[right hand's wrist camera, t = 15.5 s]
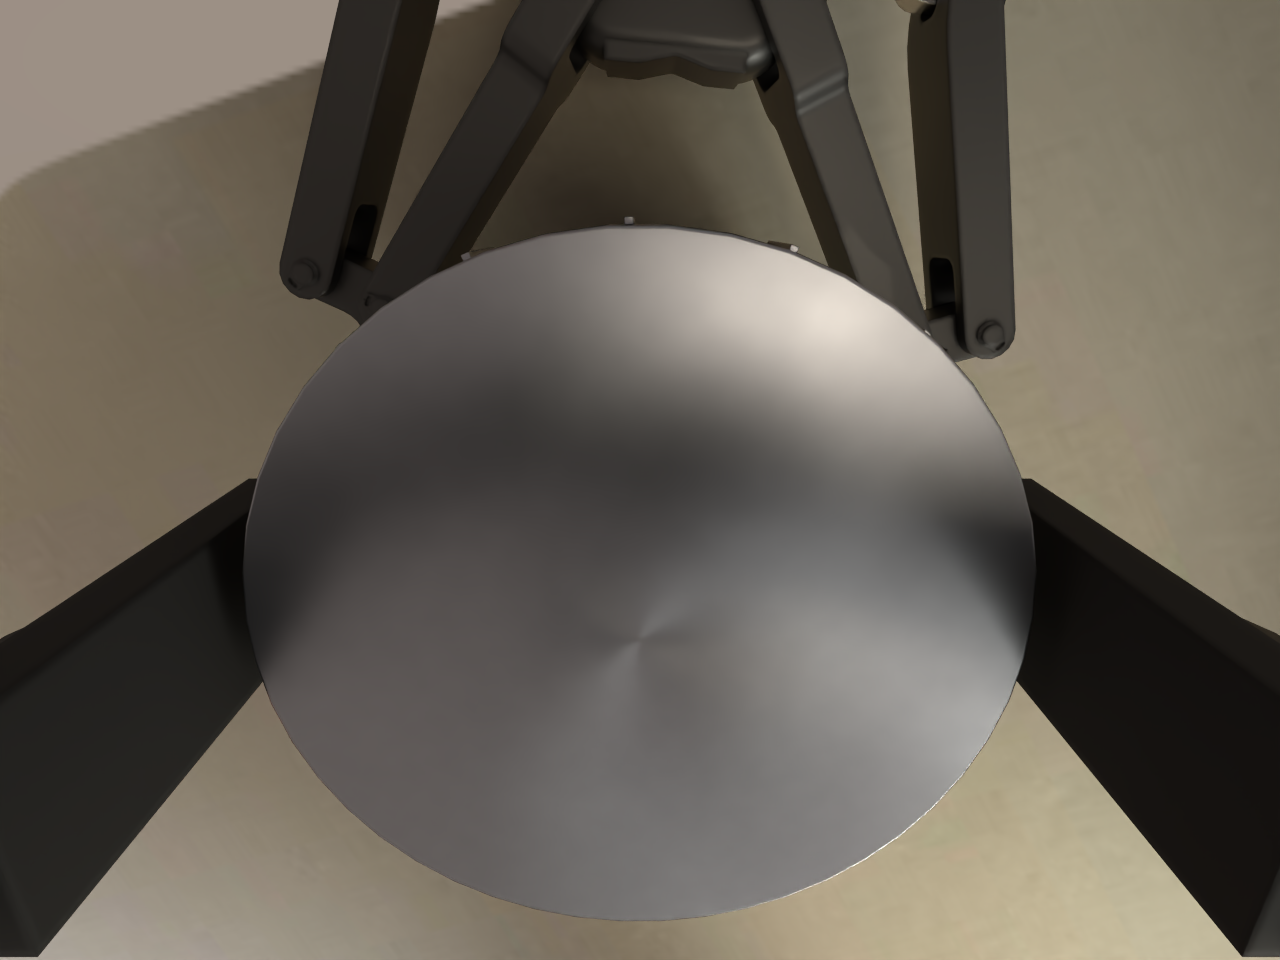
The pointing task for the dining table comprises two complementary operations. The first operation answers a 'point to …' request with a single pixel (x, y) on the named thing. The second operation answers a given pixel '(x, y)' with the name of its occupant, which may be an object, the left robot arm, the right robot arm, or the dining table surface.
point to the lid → (639, 572)
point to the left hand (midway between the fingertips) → (627, 572)
